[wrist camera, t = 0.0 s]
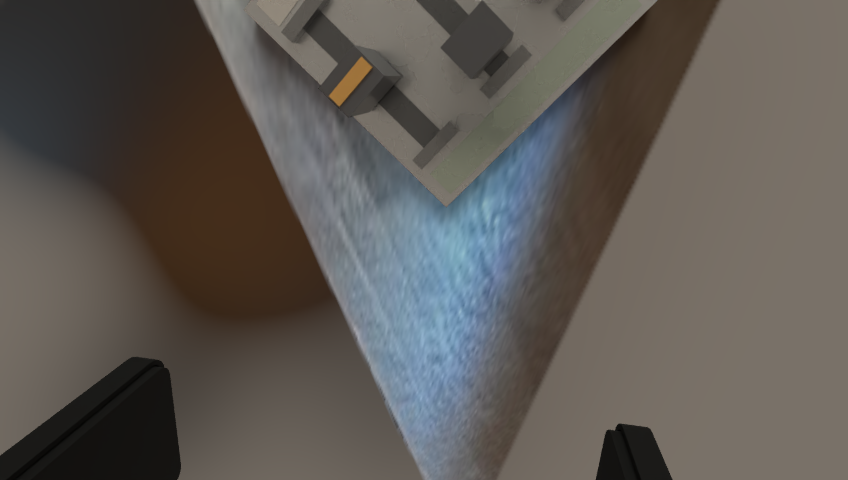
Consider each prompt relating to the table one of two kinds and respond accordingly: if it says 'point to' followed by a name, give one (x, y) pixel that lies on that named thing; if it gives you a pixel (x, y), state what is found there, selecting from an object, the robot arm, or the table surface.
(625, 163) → the table surface
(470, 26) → the handle middle
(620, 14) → the panel
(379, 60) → the orange striped slider handle
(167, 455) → the robot arm
